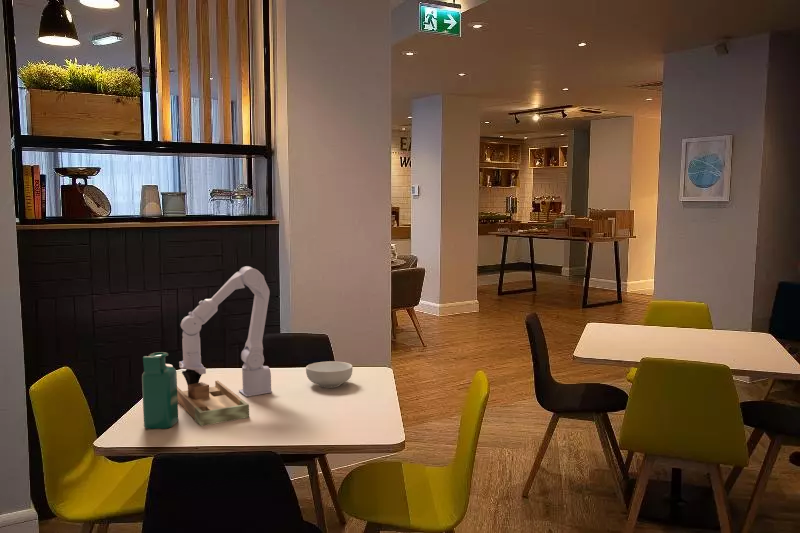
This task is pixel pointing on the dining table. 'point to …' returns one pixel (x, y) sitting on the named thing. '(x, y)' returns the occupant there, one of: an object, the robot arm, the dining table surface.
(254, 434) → the dining table surface
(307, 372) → the cereal bowl
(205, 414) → the trap box
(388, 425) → the dining table surface
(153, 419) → the green bottle
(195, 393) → the block
